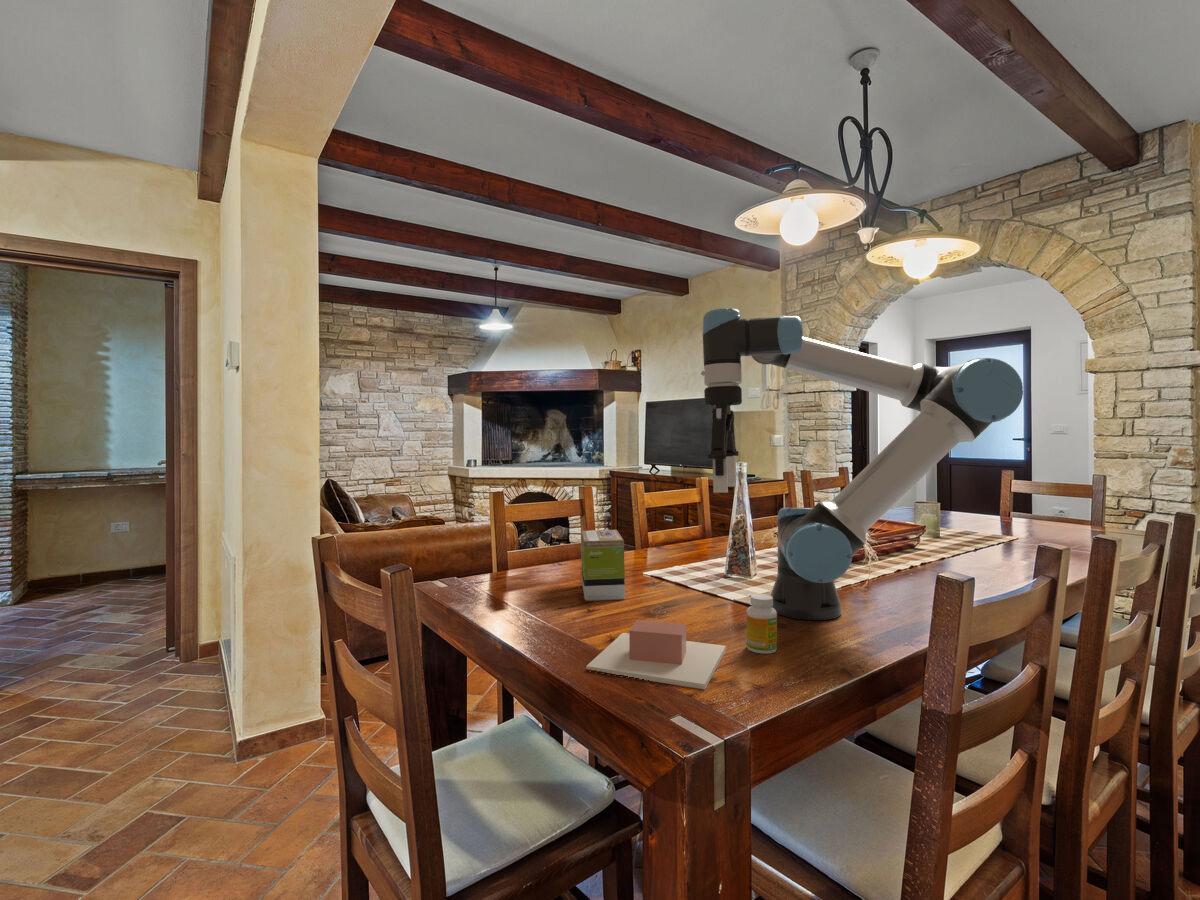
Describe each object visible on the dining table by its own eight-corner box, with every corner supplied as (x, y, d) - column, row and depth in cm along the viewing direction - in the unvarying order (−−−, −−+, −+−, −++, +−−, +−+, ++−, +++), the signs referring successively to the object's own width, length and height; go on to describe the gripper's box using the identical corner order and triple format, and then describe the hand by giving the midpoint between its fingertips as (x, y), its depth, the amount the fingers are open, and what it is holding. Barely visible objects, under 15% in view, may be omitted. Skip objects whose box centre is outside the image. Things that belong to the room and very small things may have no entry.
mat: (725, 650, 108) (725, 645, 108) (704, 689, 92) (705, 684, 92) (622, 636, 116) (622, 632, 116) (586, 670, 99) (586, 666, 99)
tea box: (580, 585, 156) (580, 529, 156) (618, 584, 157) (618, 528, 156) (583, 601, 141) (583, 539, 141) (625, 600, 142) (625, 538, 141)
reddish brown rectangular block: (636, 647, 108) (636, 620, 108) (686, 651, 105) (686, 624, 105) (629, 659, 102) (629, 630, 102) (681, 664, 100) (681, 635, 100)
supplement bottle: (772, 656, 105) (772, 602, 105) (742, 651, 108) (742, 598, 108) (780, 647, 110) (780, 595, 110) (751, 642, 113) (751, 591, 112)
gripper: (713, 391, 135) (715, 484, 135) (693, 382, 111) (696, 495, 112) (747, 389, 132) (749, 484, 133) (734, 380, 109) (736, 495, 109)
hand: (725, 489), depth 122 cm, fingers open, 13 cm apart
